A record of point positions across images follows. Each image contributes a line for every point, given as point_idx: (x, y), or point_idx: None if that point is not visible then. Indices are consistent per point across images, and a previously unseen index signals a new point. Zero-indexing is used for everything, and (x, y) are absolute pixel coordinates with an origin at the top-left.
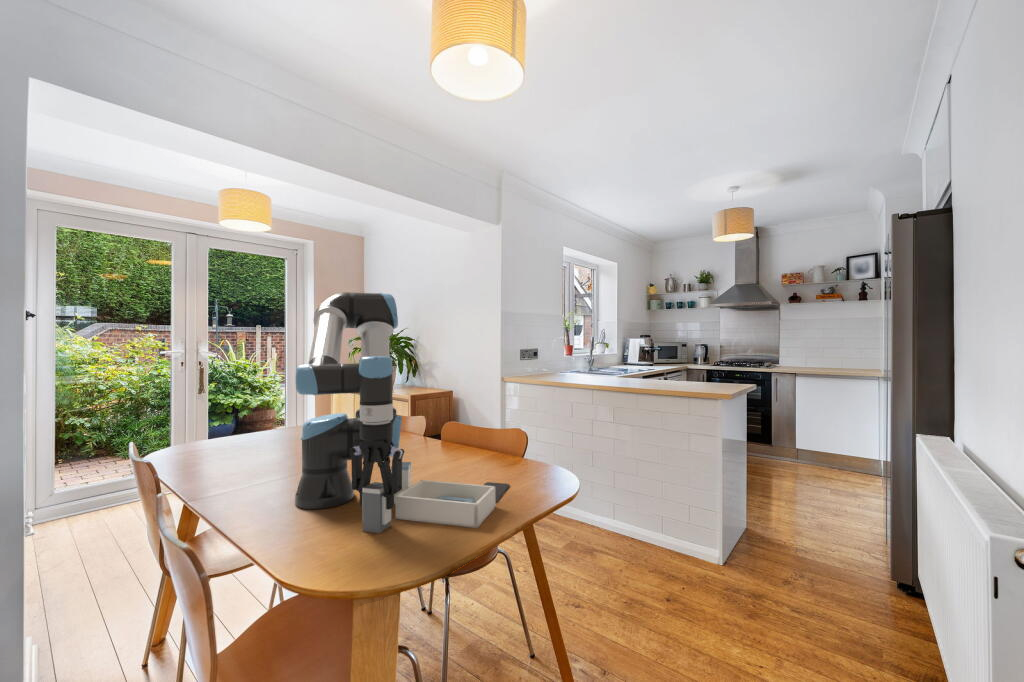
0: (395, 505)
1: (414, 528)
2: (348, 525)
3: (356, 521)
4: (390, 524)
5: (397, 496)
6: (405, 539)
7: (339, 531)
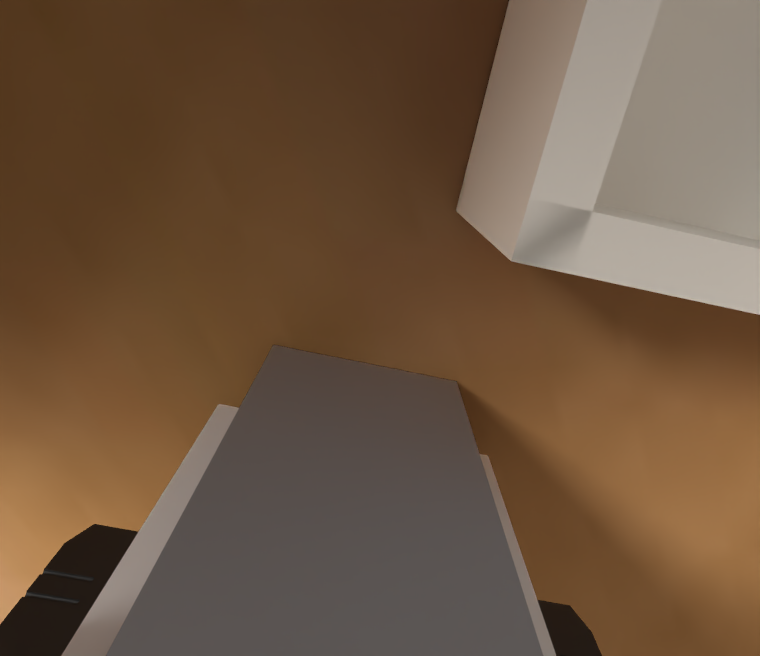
0: (480, 231)
1: (700, 428)
2: (42, 395)
3: (62, 300)
4: (457, 388)
5: (553, 265)
6: (652, 611)
7: (43, 511)
